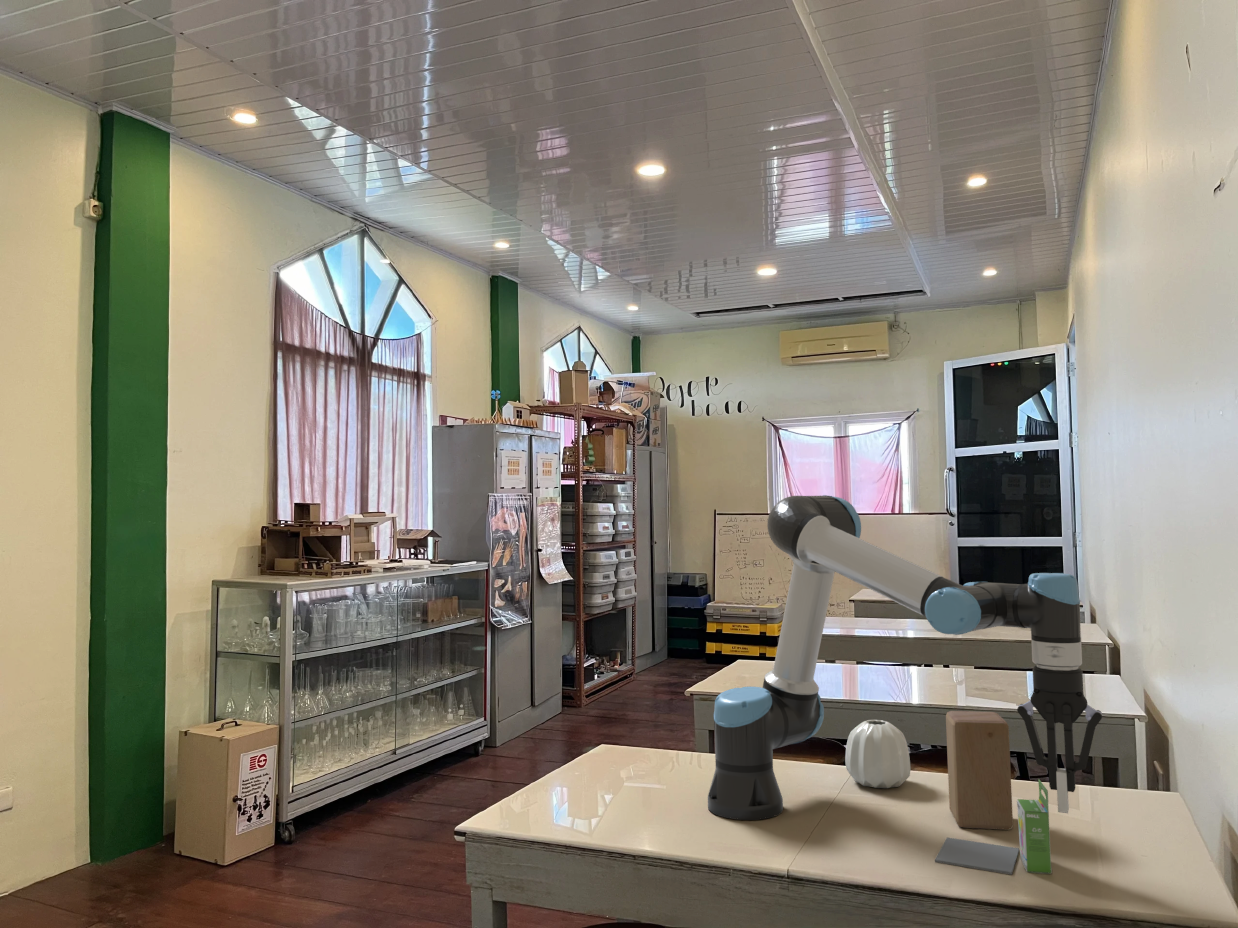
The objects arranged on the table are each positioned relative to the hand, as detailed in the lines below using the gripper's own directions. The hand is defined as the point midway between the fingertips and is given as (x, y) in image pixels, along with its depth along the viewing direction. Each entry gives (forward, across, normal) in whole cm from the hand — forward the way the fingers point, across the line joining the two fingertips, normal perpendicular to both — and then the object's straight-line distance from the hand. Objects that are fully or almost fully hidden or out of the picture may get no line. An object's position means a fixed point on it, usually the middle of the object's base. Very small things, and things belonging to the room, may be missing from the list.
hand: (1063, 810), depth 147 cm
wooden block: (+10, -16, +19) cm, 27 cm away
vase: (+10, -39, +35) cm, 53 cm away
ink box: (+10, -5, 0) cm, 11 cm away
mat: (+10, -14, 0) cm, 17 cm away
